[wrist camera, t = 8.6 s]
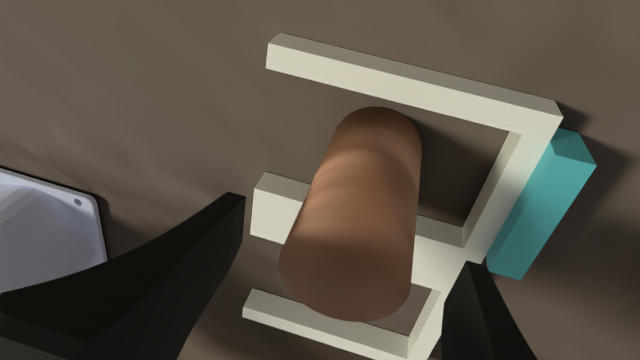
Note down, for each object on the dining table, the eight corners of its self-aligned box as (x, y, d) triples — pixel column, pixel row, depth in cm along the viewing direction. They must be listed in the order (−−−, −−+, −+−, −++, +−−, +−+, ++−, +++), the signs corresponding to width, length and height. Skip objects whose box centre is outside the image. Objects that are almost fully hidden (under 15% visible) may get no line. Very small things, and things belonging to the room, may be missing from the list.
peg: (326, 172, 21) (272, 299, 14) (342, 96, 18) (287, 207, 12) (407, 194, 20) (390, 336, 14) (434, 120, 18) (429, 248, 11)
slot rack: (251, 298, 27) (235, 330, 25) (280, 32, 17) (259, 50, 15) (442, 358, 26) (442, 397, 24) (591, 110, 16) (613, 140, 14)
